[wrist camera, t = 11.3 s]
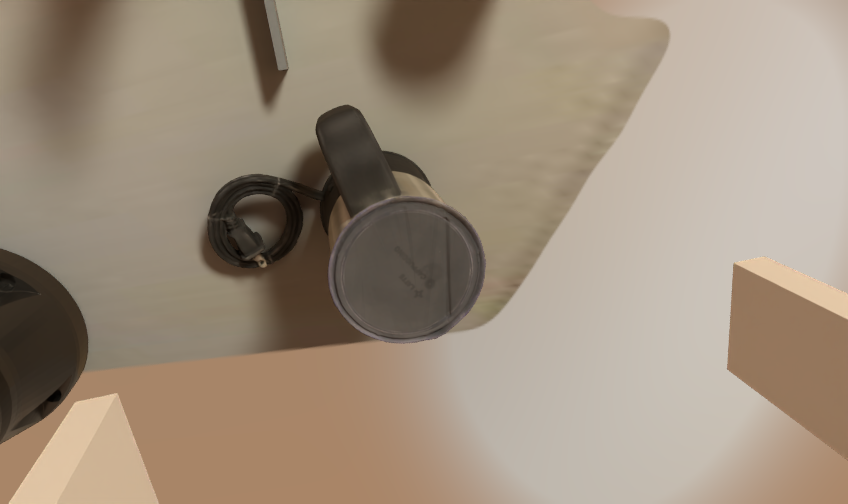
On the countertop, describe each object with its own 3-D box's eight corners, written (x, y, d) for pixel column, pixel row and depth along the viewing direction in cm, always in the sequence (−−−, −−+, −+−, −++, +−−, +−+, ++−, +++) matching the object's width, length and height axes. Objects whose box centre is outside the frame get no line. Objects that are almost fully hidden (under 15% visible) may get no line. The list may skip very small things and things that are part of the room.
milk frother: (456, 211, 48) (517, 275, 34) (317, 333, 49) (322, 443, 36) (339, 75, 43) (354, 87, 29) (186, 216, 44) (132, 291, 30)
